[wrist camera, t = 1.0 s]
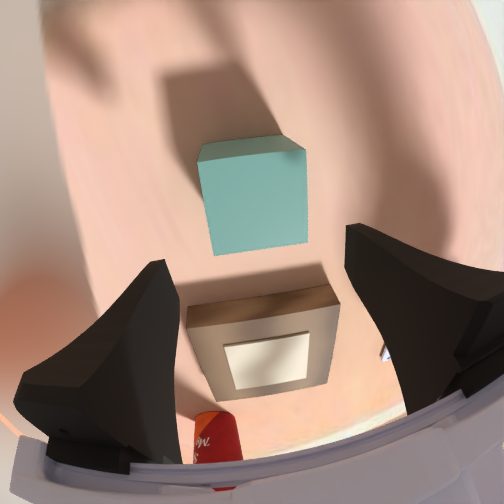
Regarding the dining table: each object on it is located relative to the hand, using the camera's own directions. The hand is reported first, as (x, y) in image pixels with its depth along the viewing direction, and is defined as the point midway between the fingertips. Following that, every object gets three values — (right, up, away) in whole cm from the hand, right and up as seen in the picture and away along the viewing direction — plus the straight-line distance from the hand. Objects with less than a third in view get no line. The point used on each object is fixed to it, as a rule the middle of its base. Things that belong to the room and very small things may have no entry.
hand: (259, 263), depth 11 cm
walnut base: (+1, -8, +16) cm, 18 cm away
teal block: (-1, +5, +7) cm, 9 cm away
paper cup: (-5, -23, +24) cm, 33 cm away
